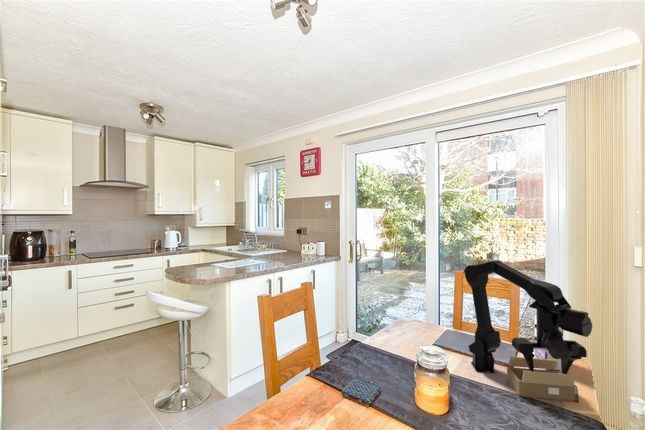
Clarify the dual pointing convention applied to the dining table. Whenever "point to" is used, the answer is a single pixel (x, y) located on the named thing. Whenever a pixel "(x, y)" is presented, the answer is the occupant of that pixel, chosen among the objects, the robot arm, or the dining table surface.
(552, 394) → the carton
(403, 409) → the dining table surface
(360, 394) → the woven mat
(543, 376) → the front flap
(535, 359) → the back flap
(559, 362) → the candy box
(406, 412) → the dining table surface
